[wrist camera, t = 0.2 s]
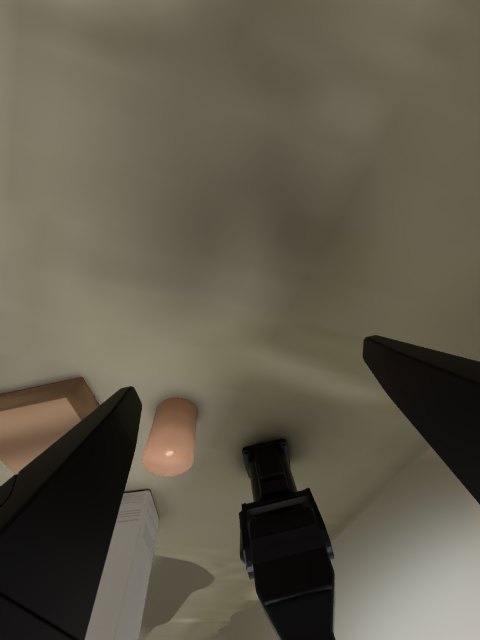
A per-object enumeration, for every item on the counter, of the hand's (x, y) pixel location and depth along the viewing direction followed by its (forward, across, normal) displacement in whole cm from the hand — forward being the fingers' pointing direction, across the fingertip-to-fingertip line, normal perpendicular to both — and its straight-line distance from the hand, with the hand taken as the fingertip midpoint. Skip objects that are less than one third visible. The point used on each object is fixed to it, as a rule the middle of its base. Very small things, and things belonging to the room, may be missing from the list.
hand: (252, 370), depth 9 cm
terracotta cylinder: (+14, +10, +15) cm, 23 cm away
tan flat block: (+14, +22, +12) cm, 29 cm away
